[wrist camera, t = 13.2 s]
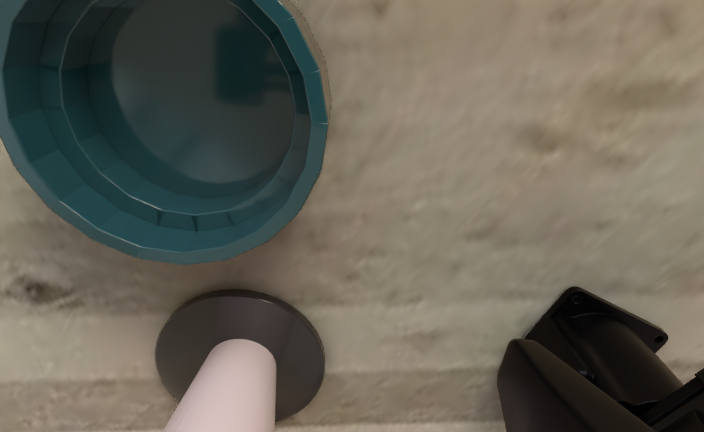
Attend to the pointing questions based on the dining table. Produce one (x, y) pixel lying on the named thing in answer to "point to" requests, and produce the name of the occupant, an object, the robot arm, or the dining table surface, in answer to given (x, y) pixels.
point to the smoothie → (230, 392)
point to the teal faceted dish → (165, 119)
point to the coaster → (250, 324)
